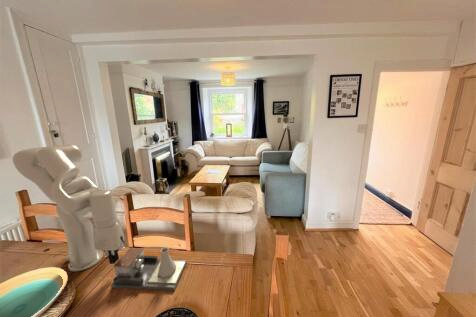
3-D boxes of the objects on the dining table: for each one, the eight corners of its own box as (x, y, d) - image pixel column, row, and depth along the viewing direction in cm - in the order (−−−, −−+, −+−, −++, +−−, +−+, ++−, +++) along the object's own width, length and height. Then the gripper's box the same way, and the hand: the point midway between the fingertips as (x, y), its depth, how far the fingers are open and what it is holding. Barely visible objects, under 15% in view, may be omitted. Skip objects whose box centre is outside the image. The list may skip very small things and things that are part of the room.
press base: (111, 287, 74) (110, 280, 73) (133, 261, 88) (132, 254, 87) (174, 290, 72) (173, 283, 72) (186, 263, 86) (185, 256, 85)
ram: (116, 280, 76) (113, 265, 74) (132, 260, 85) (130, 248, 84) (135, 280, 75) (132, 266, 74) (148, 261, 85) (146, 248, 83)
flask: (179, 264, 82) (176, 244, 80) (171, 278, 75) (169, 256, 73) (163, 263, 83) (160, 243, 81) (154, 277, 76) (151, 255, 74)
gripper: (80, 226, 73) (90, 268, 77) (117, 226, 72) (125, 268, 75) (95, 216, 80) (104, 255, 84) (129, 216, 79) (136, 255, 83)
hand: (114, 261), depth 80 cm, fingers closed
